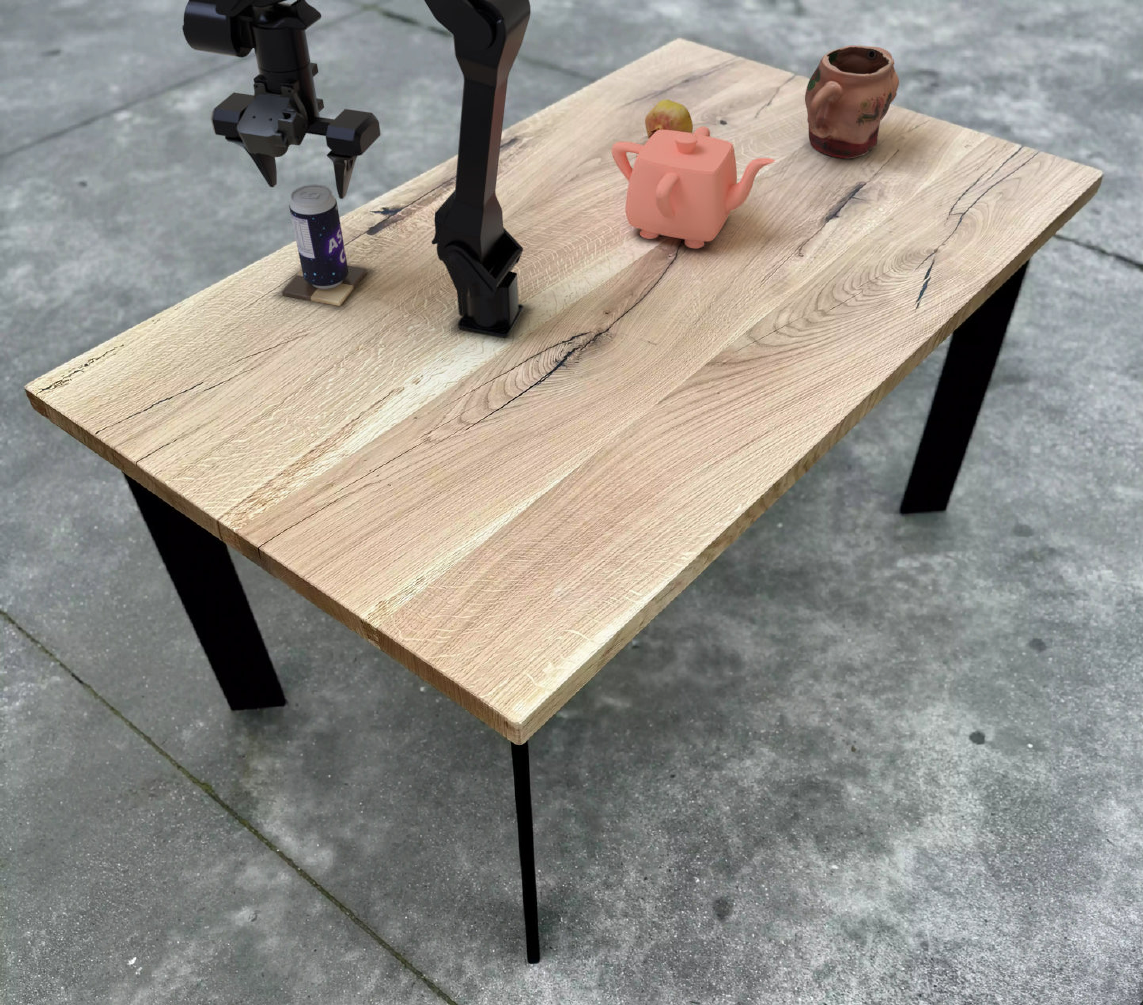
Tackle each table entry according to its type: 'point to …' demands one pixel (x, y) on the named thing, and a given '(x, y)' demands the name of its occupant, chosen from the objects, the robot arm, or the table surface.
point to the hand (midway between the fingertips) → (307, 191)
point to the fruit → (668, 118)
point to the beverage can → (318, 236)
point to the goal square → (328, 296)
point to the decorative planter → (849, 99)
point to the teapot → (683, 184)
